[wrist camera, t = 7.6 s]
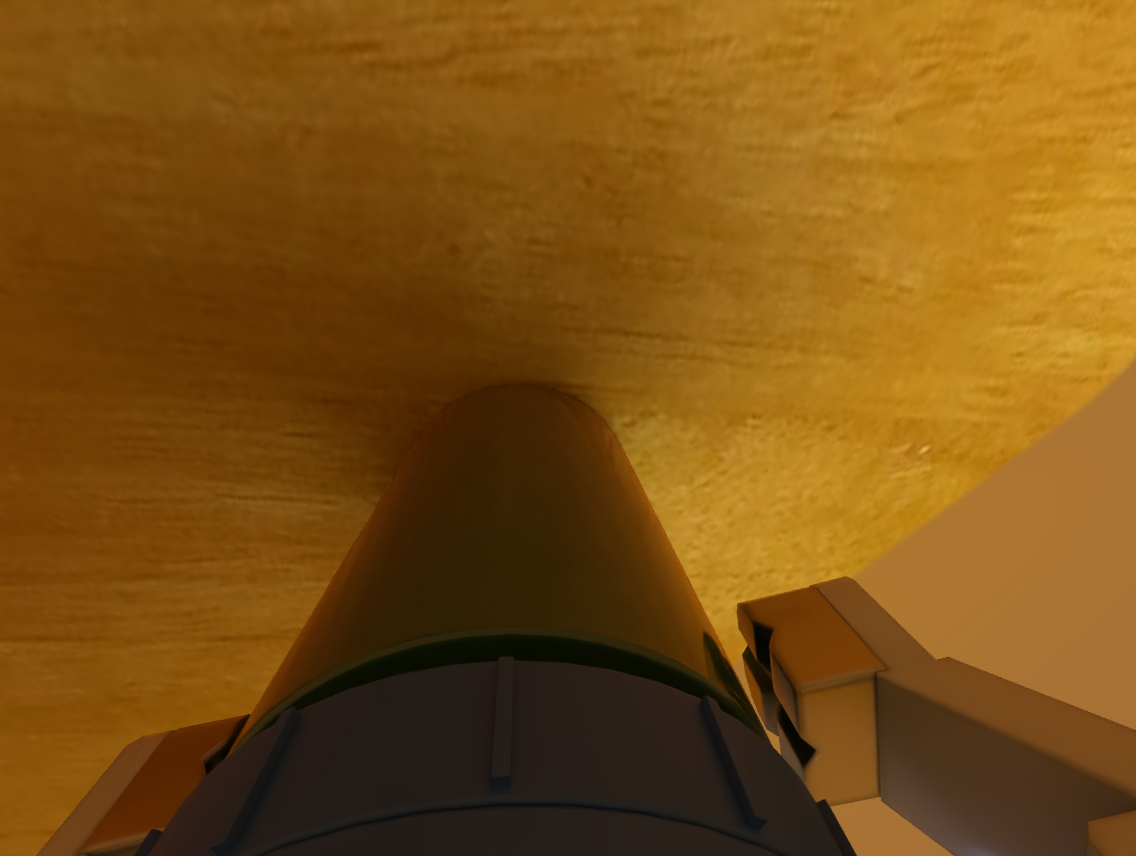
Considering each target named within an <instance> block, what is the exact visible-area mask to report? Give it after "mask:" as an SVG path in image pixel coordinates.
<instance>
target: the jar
mask: <svg viewBox="0 0 1136 856" xmlns="http://www.w3.org/2000/svg"><path fill="white" fill-rule="evenodd" d="M499 657H513V658H514V661H544V662H563V663H570V664H577V665H584V666H591V667H598V668H605V669H612V670H615V671H619V672H623V673H627V674H631V675H634V676H638V677H642V678H646V679H650V680H653V681H657V682H660V683H663V684H665V685H668V686H670V687H673V688H675V689H678V690H680V691H683V692H685V693H688V694H690V695H693V696H695V697H698V698H700V699H703V698H704V697H705V696H706V695H707V696H709V697H711V698H713V699H715V700H716V701H717V703H718V705H719V707H720V710H722V711H723V712H725V713H727V714H729V715H731V716H732V717H734V718H736V719H738V720H739V721H740V722H742V723H743V724H744V725H746V726H747V727H748V728H749V729H751V730H752V731H753V732H755V733H756V734H757V735H758V736H760V737H761V738H762V739H764V740H765V741H766V742H767V743H769V744H770V745H771V746H772V744H771V742H770V740H769V738H768V736H767V734H766V732H765V730H764V728H763V726H762V724H761V722H760V720H759V718H758V716H757V714H756V712H755V710H754V708H753V706H752V704H751V702H750V700H749V698H748V696H747V694H746V692H745V690H744V688H743V686H742V684H741V683H740V680H739V678H738V676H737V674H736V672H735V670H734V668H733V666H732V664H731V662H730V660H729V658H728V656H727V654H726V652H725V650H724V648H723V646H722V644H721V643H720V641H719V639H718V637H717V635H716V633H715V631H714V629H713V627H712V625H711V623H710V621H709V619H708V617H707V615H706V613H705V611H704V609H703V607H702V605H701V603H700V601H699V599H698V597H697V595H696V593H695V591H694V589H693V587H692V585H691V583H690V581H689V579H688V577H687V575H686V573H685V571H684V569H683V567H682V565H681V563H680V561H679V559H678V557H677V555H676V553H675V551H674V549H673V547H672V545H671V543H670V541H669V539H668V537H667V535H666V533H665V531H664V529H663V527H662V525H661V523H660V521H659V519H658V517H657V515H656V513H655V511H654V509H653V507H652V505H651V503H650V501H649V499H648V497H647V495H646V493H645V491H644V489H643V487H642V485H641V483H640V481H639V479H638V477H637V475H636V473H635V471H634V469H633V467H632V465H631V464H630V462H629V460H628V458H627V456H626V454H625V452H624V450H623V448H622V446H621V444H620V442H619V440H618V439H617V437H616V435H615V434H614V432H613V431H612V430H611V428H610V427H609V426H608V425H607V423H606V422H605V421H604V420H603V419H602V418H601V417H600V416H599V415H598V414H597V413H595V412H594V411H593V410H592V409H591V408H589V407H588V406H586V405H585V404H583V403H582V402H581V401H579V400H577V399H575V398H573V397H571V396H569V395H567V394H564V393H562V392H559V391H556V390H553V389H550V388H545V387H541V386H535V385H525V384H511V385H500V386H494V387H489V388H485V389H482V390H479V391H475V392H473V393H470V394H468V395H466V396H464V397H461V398H459V399H458V400H456V401H454V402H453V403H451V404H450V405H448V406H446V407H445V408H444V409H443V410H441V411H440V412H439V413H438V414H437V415H435V416H434V417H433V418H432V419H431V421H430V422H429V423H428V424H427V425H426V426H425V427H424V428H423V430H422V431H421V433H420V434H419V436H418V437H417V439H416V440H415V442H414V443H413V445H412V447H411V448H410V450H409V452H408V453H407V455H406V457H405V458H404V460H403V462H402V463H401V465H400V467H399V468H398V470H397V472H396V473H395V475H394V477H393V478H392V480H391V482H390V483H389V485H388V487H387V488H386V490H385V492H384V493H383V495H382V497H381V499H380V500H379V502H378V504H377V505H376V507H375V509H374V510H373V512H372V514H371V515H370V517H369V519H368V520H367V522H366V524H365V525H364V527H363V529H362V530H361V532H360V534H359V535H358V537H357V539H356V540H355V542H354V544H353V545H352V547H351V549H350V550H349V552H348V554H347V555H346V557H345V559H344V560H343V562H342V564H341V565H340V567H339V569H338V570H337V572H336V574H335V575H334V577H333V579H332V580H331V582H330V584H329V585H328V587H327V589H326V590H325V592H324V594H323V595H322V597H321V599H320V600H319V602H318V604H317V605H316V607H315V609H314V610H313V612H312V614H311V615H310V617H309V619H308V620H307V622H306V624H305V625H304V627H303V629H302V630H301V632H300V634H299V635H298V637H297V639H296V640H295V642H294V644H293V645H292V647H291V649H290V650H289V652H288V654H287V655H286V657H285V659H284V660H283V662H282V664H281V665H280V667H279V669H278V671H277V672H276V674H275V676H274V677H273V679H272V681H271V682H270V684H269V686H268V687H267V689H266V691H265V692H264V694H263V696H262V697H261V699H260V701H259V702H258V704H257V706H256V707H255V709H254V711H253V712H252V714H251V716H250V717H249V719H248V721H247V722H246V724H245V726H244V727H243V729H242V731H241V732H240V734H239V736H238V737H237V739H236V741H235V742H234V744H233V746H232V747H231V749H230V751H229V752H228V754H227V756H226V757H225V759H226V758H227V757H229V756H230V755H231V754H233V753H234V752H235V751H236V750H238V749H239V748H240V747H242V746H243V745H244V744H245V743H247V742H248V741H249V740H251V739H252V738H253V737H255V736H256V735H257V734H259V733H261V732H263V731H264V730H266V729H268V728H269V727H271V726H273V725H275V723H276V722H277V720H278V718H279V716H280V714H281V713H282V712H283V711H285V710H287V709H289V708H291V707H295V708H296V710H297V711H299V710H301V709H303V708H305V707H308V706H310V705H312V704H315V703H317V702H319V701H322V700H324V699H326V698H329V697H331V696H333V695H336V694H338V693H340V692H343V691H345V690H347V689H351V688H354V687H357V686H361V685H364V684H367V683H371V682H374V681H377V680H381V679H384V678H387V677H391V676H394V675H397V674H402V673H408V672H413V671H419V670H424V669H429V668H435V667H440V666H446V665H451V664H463V663H477V662H490V661H498V659H499ZM772 747H773V746H772ZM225 759H224V760H225Z"/></svg>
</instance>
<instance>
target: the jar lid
mask: <svg viewBox="0 0 1136 856" xmlns="http://www.w3.org/2000/svg"><path fill="white" fill-rule="evenodd" d="M134 856H857V855H856V854H855V852H854V850H853V848H852V846H851V844H850V842H849V841H848V839H847V837H846V835H845V833H844V832H843V830H842V828H841V827H840V824H839V823H838V821H837V819H836V817H835V815H834V813H833V812H832V810H831V808H830V806H829V804H828V802H827V801H826V799H823V800H821V801H819V802H816V801H815V799H814V798H813V796H812V795H811V793H810V792H809V790H808V789H807V787H806V785H805V784H804V782H803V781H802V779H801V778H800V776H799V775H798V773H797V772H796V771H795V770H794V769H793V768H792V767H791V766H790V765H789V764H788V763H787V761H786V760H785V759H784V758H783V757H782V756H781V755H780V754H779V753H778V752H777V751H776V750H775V749H774V748H773V747H772V746H771V745H770V744H769V743H767V742H766V741H765V740H764V739H762V738H761V737H760V736H758V735H757V734H756V733H755V732H753V731H752V730H751V729H749V728H748V727H747V726H746V725H744V724H743V723H742V722H740V721H739V720H738V719H736V718H734V717H732V716H731V715H729V714H727V713H725V712H723V711H722V710H720V707H719V705H718V703H717V701H716V700H715V699H713V698H711V697H709V696H707V695H706V696H705V697H704V698H703V699H700V698H698V697H695V696H693V695H690V694H688V693H685V692H683V691H680V690H678V689H675V688H673V687H670V686H668V685H665V684H663V683H660V682H657V681H653V680H650V679H646V678H642V677H638V676H634V675H631V674H627V673H623V672H619V671H615V670H612V669H605V668H598V667H591V666H584V665H577V664H570V663H563V662H544V661H514V658H513V657H499V659H498V661H490V662H477V663H463V664H451V665H446V666H440V667H435V668H429V669H424V670H419V671H413V672H408V673H402V674H397V675H394V676H391V677H387V678H384V679H381V680H377V681H374V682H371V683H367V684H364V685H361V686H357V687H354V688H351V689H347V690H345V691H343V692H340V693H338V694H336V695H333V696H331V697H329V698H326V699H324V700H322V701H319V702H317V703H315V704H312V705H310V706H308V707H305V708H303V709H301V710H299V711H297V710H296V708H295V707H291V708H289V709H287V710H285V711H283V712H282V713H281V714H280V716H279V718H278V720H277V722H276V723H275V725H273V726H271V727H269V728H268V729H266V730H264V731H263V732H261V733H259V734H257V735H256V736H255V737H253V738H252V739H251V740H249V741H248V742H247V743H245V744H244V745H243V746H242V747H240V748H239V749H238V750H236V751H235V752H234V753H233V754H231V755H230V756H229V757H227V758H226V759H225V760H224V761H222V762H221V763H220V764H218V765H217V766H216V767H215V768H214V769H213V770H212V771H211V772H210V773H209V774H208V775H207V776H206V777H205V778H204V779H203V780H202V781H201V782H200V784H199V785H198V786H197V787H196V788H195V789H194V790H193V791H192V792H191V793H190V794H189V795H188V796H187V797H186V798H185V800H184V801H183V803H182V804H181V805H180V807H179V808H178V810H177V811H176V813H175V814H174V816H173V817H172V819H171V820H170V822H169V823H168V825H167V826H166V827H165V829H164V830H163V832H162V831H159V830H156V829H151V830H150V832H149V833H148V835H147V836H146V838H145V839H144V841H143V842H142V844H141V845H140V847H139V848H138V850H137V851H136V853H135V854H134Z"/></svg>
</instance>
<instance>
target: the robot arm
mask: <svg viewBox="0 0 1136 856" xmlns="http://www.w3.org/2000/svg"><path fill="white" fill-rule="evenodd" d="M737 619H738V627H739V630H740V631H741V633H742V635H743V637H744V639H745V641H746V642H747V644H748V646H747V647H746V649H745V651H744V653H743V654H742V656H743V662H744V668H745V674H746V678H747V682H748V685H749V689H750V692H751V696H752V698H753V701H754V703H755V706H756V708H757V711H758V713H759V715H760V717H761V719H762V721H763V723H764V725H765V727H766V729H767V730H769V731H771V732H772V733H774V734H775V735H777V736H779V741H780V749H781V756H782V757H783V758H784V759H785V760H786V761H787V763H788V764H789V765H790V766H791V767H792V768H793V769H794V770H795V771H796V772H797V773H798V775H799V776H800V778H801V779H802V781H803V782H804V784H805V785H806V787H807V789H808V790H809V792H810V793H811V795H812V796H813V798H814V799H815V801H816V802H819V801H821V800H823V799H826V801H827V802H828V804H829V806H830V807H831V806H836V805H841V804H846V803H851V802H856V801H861V800H866V799H871V798H876V797H881V801H882V802H883V803H885V804H886V805H887V806H889V807H890V808H891V809H893V810H894V811H895V812H897V813H898V814H899V815H901V816H902V817H903V818H905V819H906V820H907V821H909V822H910V823H911V824H913V825H914V826H915V827H917V828H918V829H919V830H921V831H922V832H923V833H925V834H926V835H927V836H929V837H930V838H931V839H932V840H934V841H935V842H936V843H938V844H939V845H940V846H942V847H943V848H945V849H946V850H947V851H948V852H950V853H951V854H952V855H954V856H1136V730H1134V729H1131V728H1129V727H1126V726H1123V725H1121V724H1119V723H1116V722H1113V721H1111V720H1108V719H1106V718H1103V717H1100V716H1098V715H1096V714H1093V713H1090V712H1088V711H1085V710H1083V709H1080V708H1078V707H1075V706H1072V705H1070V704H1067V703H1065V702H1062V701H1060V700H1057V699H1055V698H1052V697H1049V696H1047V695H1044V694H1042V693H1039V692H1037V691H1034V690H1031V689H1029V688H1026V687H1024V686H1021V685H1019V684H1016V683H1014V682H1011V681H1008V680H1006V679H1003V678H1001V677H998V676H996V675H993V674H991V673H988V672H986V671H983V670H980V669H978V668H975V667H973V666H970V665H968V664H965V663H962V662H960V661H957V660H955V659H952V658H950V657H946V658H942V659H937V660H936V659H935V658H934V657H933V656H932V655H931V654H930V653H929V652H928V651H927V650H926V649H925V648H923V646H921V645H920V644H919V643H918V642H917V641H916V640H915V639H914V638H913V637H912V636H911V635H910V634H909V633H908V632H907V631H906V630H905V629H904V628H903V627H902V626H901V625H900V624H899V623H898V622H897V621H896V620H895V619H894V618H893V617H892V616H891V615H890V614H889V613H888V612H887V611H886V610H885V609H884V608H882V607H881V606H880V605H879V604H878V603H877V602H876V601H875V600H874V599H873V598H872V597H871V596H870V595H869V594H868V593H867V592H866V591H865V590H864V589H863V588H862V587H861V586H860V585H859V584H858V583H857V582H856V581H855V580H854V579H851V578H849V577H846V576H845V577H841V578H837V579H833V580H829V581H825V582H822V583H818V584H814V585H810V586H809V587H806V588H801V589H797V590H793V591H789V592H784V593H780V594H776V595H771V596H767V597H763V598H759V599H754V600H750V601H746V602H742V603H738V604H737ZM250 716H251V715H250V714H248V715H243V716H238V717H234V718H229V719H224V720H219V721H214V722H209V723H204V724H199V725H194V726H189V727H184V728H179V729H177V730H173V731H168V732H163V733H158V734H153V735H148V736H144V737H141V738H139V739H138V740H136V741H134V742H132V743H130V744H129V745H127V746H126V747H125V748H124V749H123V751H122V752H121V753H120V754H119V756H118V757H117V758H116V759H115V760H114V762H113V763H112V764H111V765H110V766H109V768H108V769H107V770H106V771H105V773H104V774H103V775H102V776H101V777H100V779H99V780H98V781H97V782H96V784H95V785H94V786H93V787H92V788H91V790H90V791H89V792H88V793H87V794H86V796H85V797H84V798H83V799H82V801H81V802H80V803H79V804H78V805H77V807H76V808H75V809H74V810H73V812H72V813H71V814H70V815H69V816H68V818H67V819H66V820H65V821H64V822H63V824H62V825H61V826H60V827H59V829H58V830H57V831H56V832H55V833H54V835H53V836H52V837H51V838H50V839H49V841H48V842H47V843H46V844H45V846H44V847H43V848H42V849H41V850H40V852H39V853H38V854H37V855H36V856H134V854H135V853H136V851H137V850H138V848H139V847H140V845H141V844H142V842H143V841H144V839H145V838H146V836H147V835H148V833H149V832H150V830H151V829H156V830H159V831H162V832H163V830H164V829H165V827H166V826H167V825H168V823H169V822H170V820H171V819H172V817H173V816H174V814H175V813H176V811H177V810H178V808H179V807H180V805H181V804H182V803H183V801H184V800H185V798H186V797H187V796H188V795H189V794H190V793H191V792H192V791H193V790H194V789H195V788H196V787H197V786H198V785H199V784H200V782H201V781H202V780H203V779H204V778H205V777H206V776H207V775H208V774H209V773H210V772H211V771H212V770H213V769H214V768H215V767H216V766H217V765H218V764H220V763H221V762H222V761H224V759H225V757H226V756H227V754H228V752H229V751H230V749H231V747H232V746H233V744H234V742H235V741H236V739H237V737H238V736H239V734H240V732H241V731H242V729H243V727H244V726H245V724H246V722H247V721H248V719H249V717H250Z"/></svg>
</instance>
